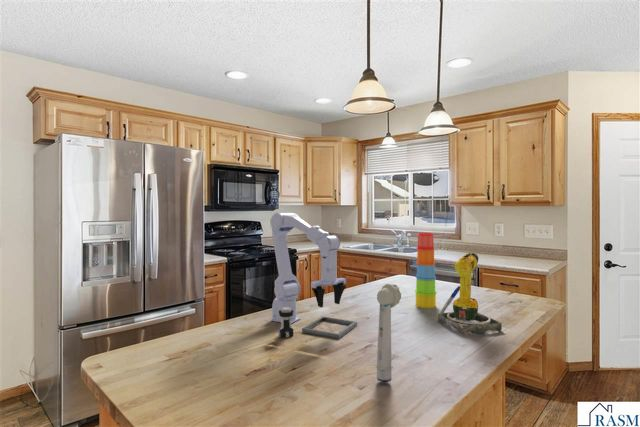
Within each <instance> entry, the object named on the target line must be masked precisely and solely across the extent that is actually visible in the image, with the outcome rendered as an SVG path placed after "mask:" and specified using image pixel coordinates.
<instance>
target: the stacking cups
mask: <svg viewBox="0 0 640 427" xmlns="http://www.w3.org/2000/svg"><path fill="white" fill-rule="evenodd" d="M434 245H435V244H434V235H433V233H431V232H419V233H418V234H417V247H416V249H417V250H416V251H417V252H416V254H417V255H416V256H417V257H416V259H417V260H416V261H415V262H416V263H415V264H416V275H415V278H416V283H415V284H416V288H415V290H414V292H415V306H416V307H418V308H422V309H433V308H435V307H436V305H437V304H436V301H437V300H436V299H437V296H436V295H437V293H438V292H437V291H436V279H437V277H436V272H435V271H436V266H435V265H436V262H435V249H436V248H435V247H434Z"/></svg>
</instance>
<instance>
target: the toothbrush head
mask: <svg viewBox="0 0 640 427" xmlns="http://www.w3.org/2000/svg"><path fill="white" fill-rule="evenodd" d="M401 299H402V293H401V291H400V287H399V286H398V285H397V284H391V283H385V284H384V285H383V286H382V287H381V289H379V291H378V292H377V295H376V300H377V302H378V304H379V315H378V333H377V334H378V337H377V340H378V341H377V351H376V352H377V355H376V362H375V368H376V379H377V381H378V382H381V383H390V382H391V381H392V370H393V368H394V367H393V364H392V310H391V309H393V308H395V307H396V305H399V304H400V302H401Z"/></svg>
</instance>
